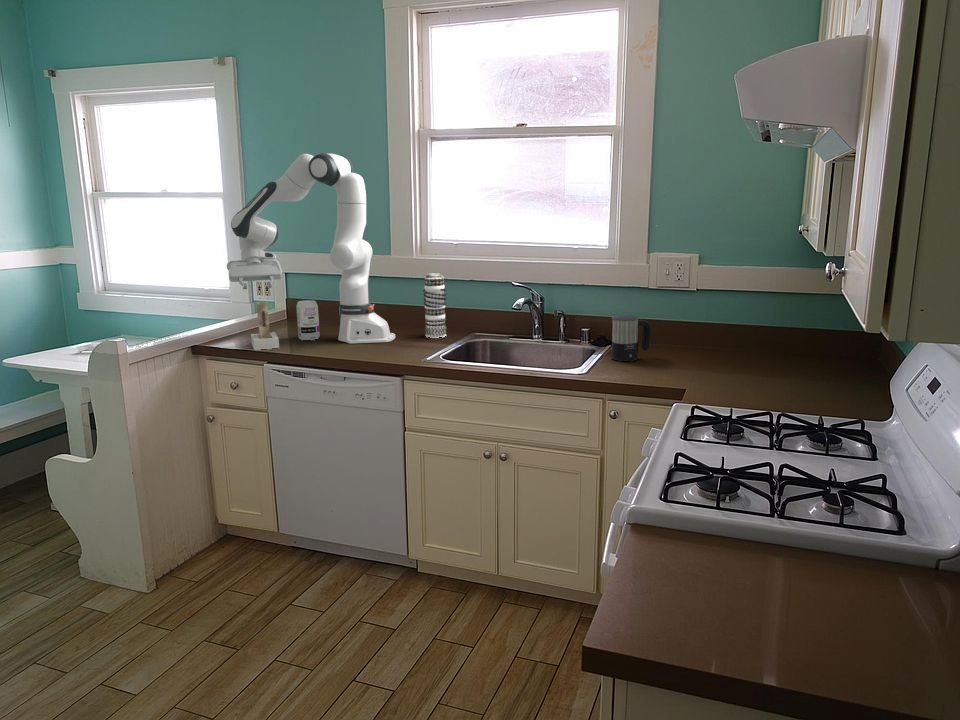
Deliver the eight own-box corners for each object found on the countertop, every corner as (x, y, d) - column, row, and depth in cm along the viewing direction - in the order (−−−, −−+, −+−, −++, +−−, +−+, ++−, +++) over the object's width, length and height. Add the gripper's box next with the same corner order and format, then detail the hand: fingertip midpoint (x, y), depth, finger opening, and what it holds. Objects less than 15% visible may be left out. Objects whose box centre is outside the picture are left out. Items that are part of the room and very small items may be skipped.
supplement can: (308, 336, 306) (306, 299, 302) (324, 338, 301) (321, 300, 298) (294, 339, 299) (291, 302, 295) (309, 341, 295) (307, 303, 291)
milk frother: (623, 363, 253) (625, 320, 250) (591, 355, 266) (592, 313, 262) (653, 357, 261) (655, 315, 257) (621, 350, 273) (622, 309, 270)
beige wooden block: (269, 340, 290) (266, 302, 287) (270, 343, 285) (267, 304, 282) (259, 341, 289) (256, 302, 285) (261, 344, 284) (257, 304, 281)
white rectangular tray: (251, 344, 291) (250, 334, 290) (275, 342, 294) (274, 332, 294) (254, 350, 280) (253, 340, 280) (279, 348, 284) (278, 337, 283)
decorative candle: (440, 332, 309) (438, 271, 303) (451, 336, 301) (450, 274, 295) (420, 335, 304) (418, 273, 298) (431, 339, 296) (429, 275, 291)
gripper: (225, 256, 294) (229, 284, 287) (279, 253, 301) (284, 281, 294) (226, 266, 299) (229, 294, 292) (279, 264, 306) (283, 291, 299)
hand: (257, 287), depth 293 cm, fingers open, 8 cm apart
